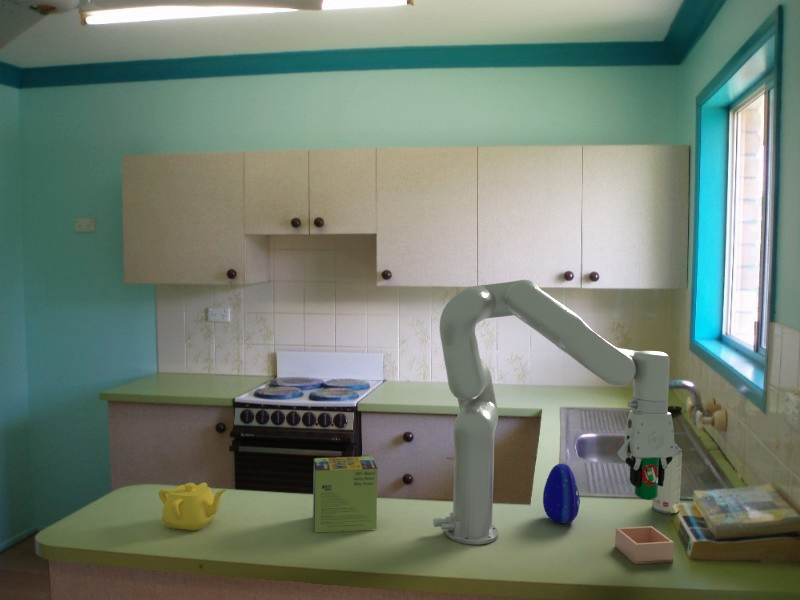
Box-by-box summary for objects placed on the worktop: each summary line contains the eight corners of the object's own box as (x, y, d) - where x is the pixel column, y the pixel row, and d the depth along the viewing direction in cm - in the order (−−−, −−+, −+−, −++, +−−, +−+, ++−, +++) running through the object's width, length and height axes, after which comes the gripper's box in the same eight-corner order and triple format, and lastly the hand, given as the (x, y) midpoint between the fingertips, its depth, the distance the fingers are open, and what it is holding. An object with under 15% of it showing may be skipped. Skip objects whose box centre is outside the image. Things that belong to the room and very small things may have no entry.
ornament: (581, 531, 169) (583, 471, 168) (543, 528, 170) (545, 469, 169) (576, 514, 180) (578, 458, 179) (541, 512, 181) (543, 456, 180)
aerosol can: (652, 503, 189) (656, 432, 188) (679, 507, 187) (682, 435, 185) (651, 511, 183) (654, 438, 182) (679, 515, 180) (682, 441, 179)
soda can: (639, 491, 159) (641, 440, 158) (661, 496, 156) (663, 444, 155) (630, 496, 155) (632, 445, 154) (653, 502, 152) (655, 449, 151)
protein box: (377, 530, 167) (378, 468, 166) (313, 533, 165) (314, 470, 163) (371, 514, 177) (373, 455, 176) (312, 516, 175) (312, 457, 174)
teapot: (212, 511, 177) (212, 472, 177) (227, 528, 166) (227, 487, 166) (157, 520, 170) (157, 480, 170) (168, 539, 159) (168, 496, 159)
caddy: (635, 564, 151) (636, 544, 151) (614, 546, 160) (615, 528, 160) (673, 561, 153) (674, 542, 152) (650, 544, 162) (651, 526, 162)
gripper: (623, 410, 149) (620, 492, 150) (694, 408, 152) (690, 488, 153) (607, 403, 156) (604, 481, 158) (674, 401, 159) (671, 478, 161)
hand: (646, 484), depth 155 cm, fingers closed on soda can, 4 cm apart
